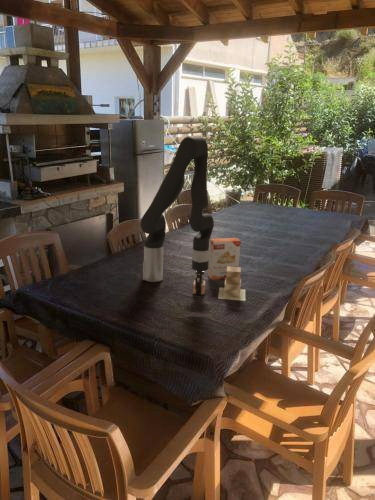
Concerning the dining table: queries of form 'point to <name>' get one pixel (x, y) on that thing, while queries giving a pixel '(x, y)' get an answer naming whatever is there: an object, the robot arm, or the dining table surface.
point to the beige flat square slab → (221, 296)
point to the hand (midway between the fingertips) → (198, 293)
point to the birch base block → (232, 290)
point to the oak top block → (233, 275)
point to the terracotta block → (201, 288)
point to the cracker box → (223, 256)
